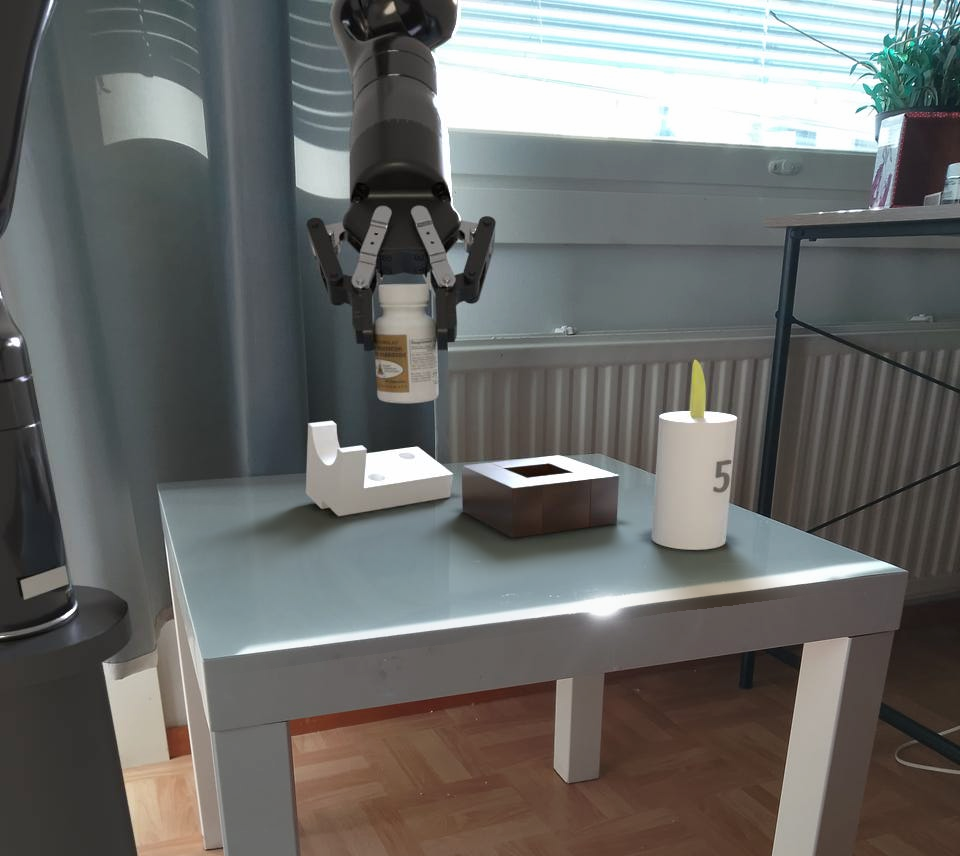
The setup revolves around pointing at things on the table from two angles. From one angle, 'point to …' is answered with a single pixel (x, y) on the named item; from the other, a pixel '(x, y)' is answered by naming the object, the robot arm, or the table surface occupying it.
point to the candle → (693, 473)
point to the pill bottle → (405, 345)
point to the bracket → (369, 474)
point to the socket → (539, 495)
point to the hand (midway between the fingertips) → (406, 342)
